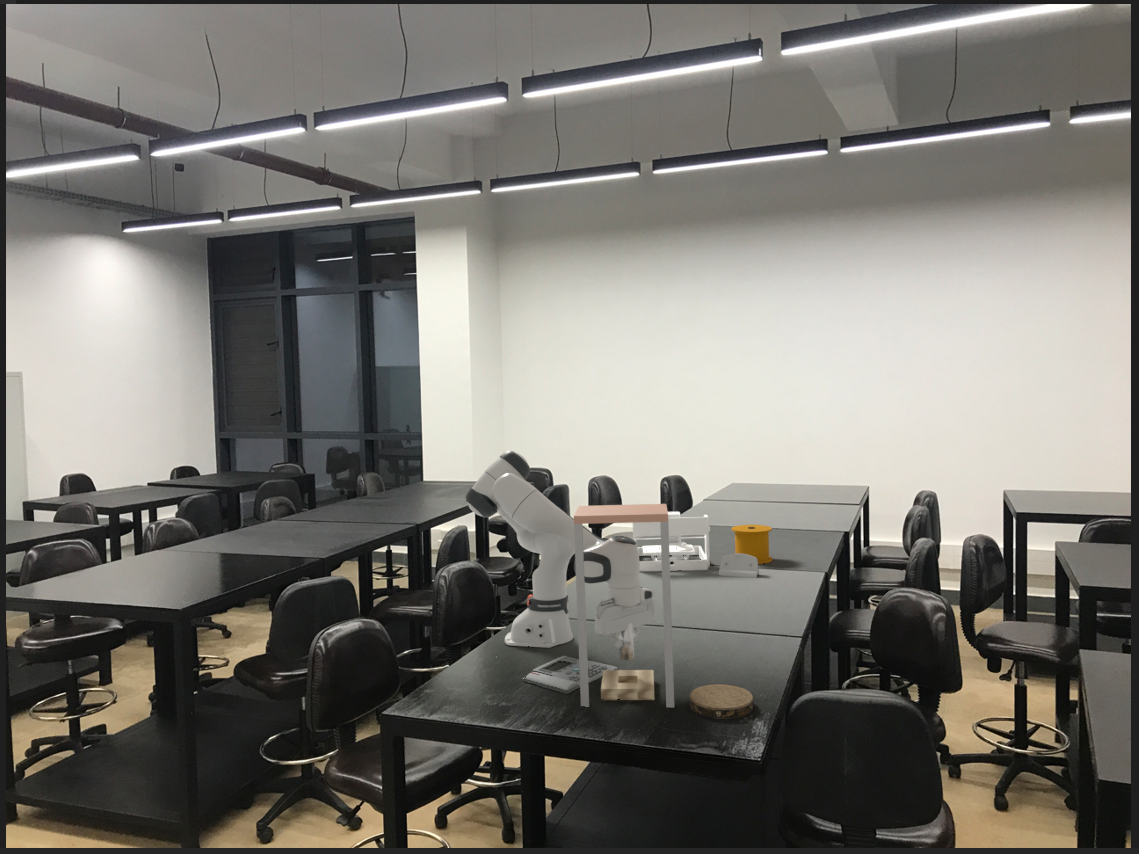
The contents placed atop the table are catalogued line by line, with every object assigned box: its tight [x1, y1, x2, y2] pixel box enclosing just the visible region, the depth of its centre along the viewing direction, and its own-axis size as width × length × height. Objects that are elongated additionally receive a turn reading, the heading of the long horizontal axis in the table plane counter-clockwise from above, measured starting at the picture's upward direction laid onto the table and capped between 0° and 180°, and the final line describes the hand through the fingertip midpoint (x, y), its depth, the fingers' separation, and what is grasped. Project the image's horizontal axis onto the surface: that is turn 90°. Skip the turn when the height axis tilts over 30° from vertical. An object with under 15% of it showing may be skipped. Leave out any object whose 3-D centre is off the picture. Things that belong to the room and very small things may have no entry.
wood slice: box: [689, 683, 754, 720], centre depth 209 cm, size 16×16×3 cm
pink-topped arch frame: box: [573, 503, 675, 708], centre depth 217 cm, size 24×17×50 cm
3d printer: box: [632, 511, 711, 572], centre depth 374 cm, size 35×32×25 cm
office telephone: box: [521, 655, 619, 690], centre depth 236 cm, size 23×3×20 cm
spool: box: [730, 524, 773, 565], centre depth 373 cm, size 18×18×15 cm
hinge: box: [718, 553, 760, 578], centre depth 347 cm, size 17×5×10 cm, turn 66°
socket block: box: [600, 669, 655, 701], centre depth 222 cm, size 14×14×3 cm
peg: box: [618, 623, 635, 661], centre depth 226 cm, size 4×4×10 cm
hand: (626, 644), depth 226 cm, fingers closed on peg, 4 cm apart
